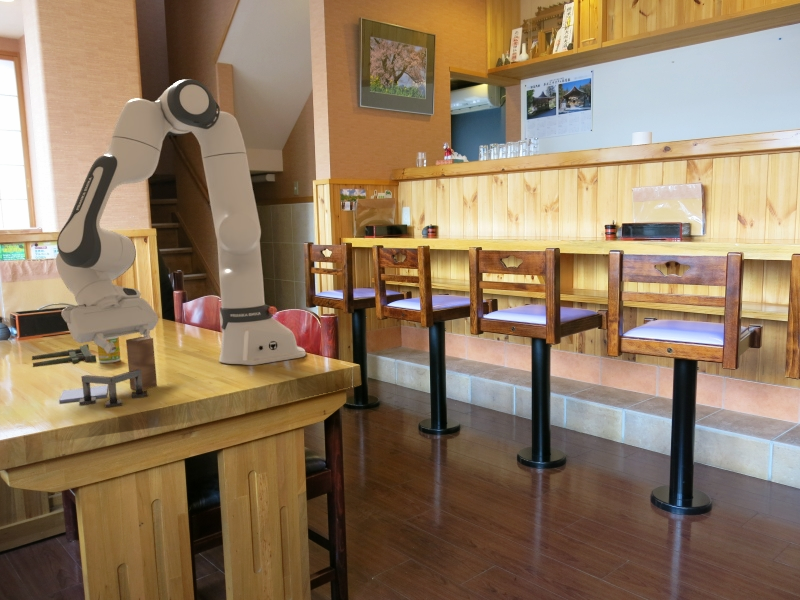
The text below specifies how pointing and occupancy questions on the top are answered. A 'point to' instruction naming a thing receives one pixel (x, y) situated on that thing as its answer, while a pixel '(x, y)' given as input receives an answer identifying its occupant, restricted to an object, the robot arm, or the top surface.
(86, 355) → the miniature torii gate
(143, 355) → the walnut peg
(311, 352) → the top surface
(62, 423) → the top surface
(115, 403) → the bent rail on posts
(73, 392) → the pad
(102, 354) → the supplement bottle
